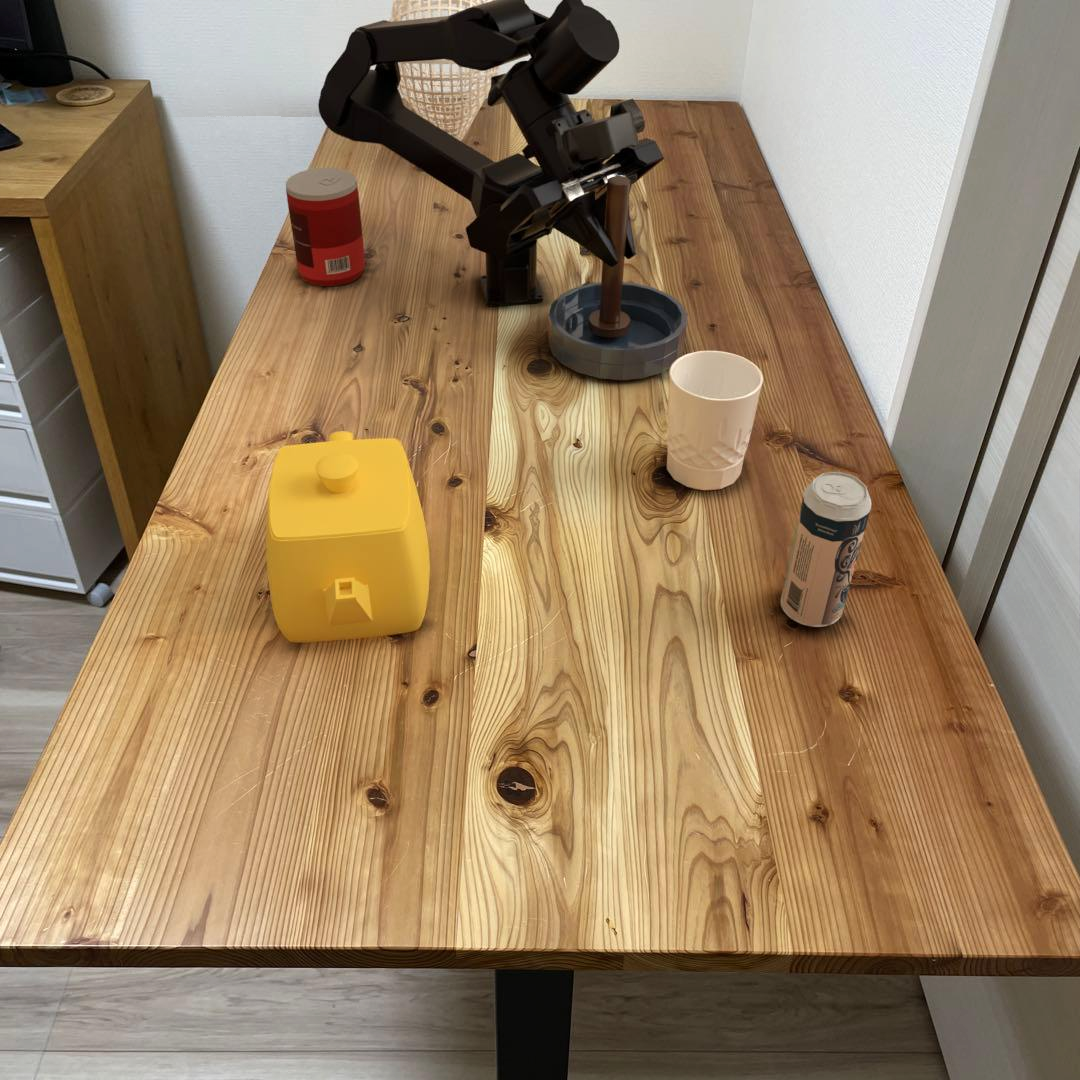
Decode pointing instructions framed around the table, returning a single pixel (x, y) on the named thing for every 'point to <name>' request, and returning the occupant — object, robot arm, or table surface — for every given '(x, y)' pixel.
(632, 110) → the robot arm
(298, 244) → the canned food
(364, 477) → the teapot
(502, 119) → the table surface
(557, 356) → the bowl
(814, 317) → the table surface
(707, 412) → the white cup
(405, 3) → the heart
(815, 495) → the beer can
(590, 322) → the stirring stick
